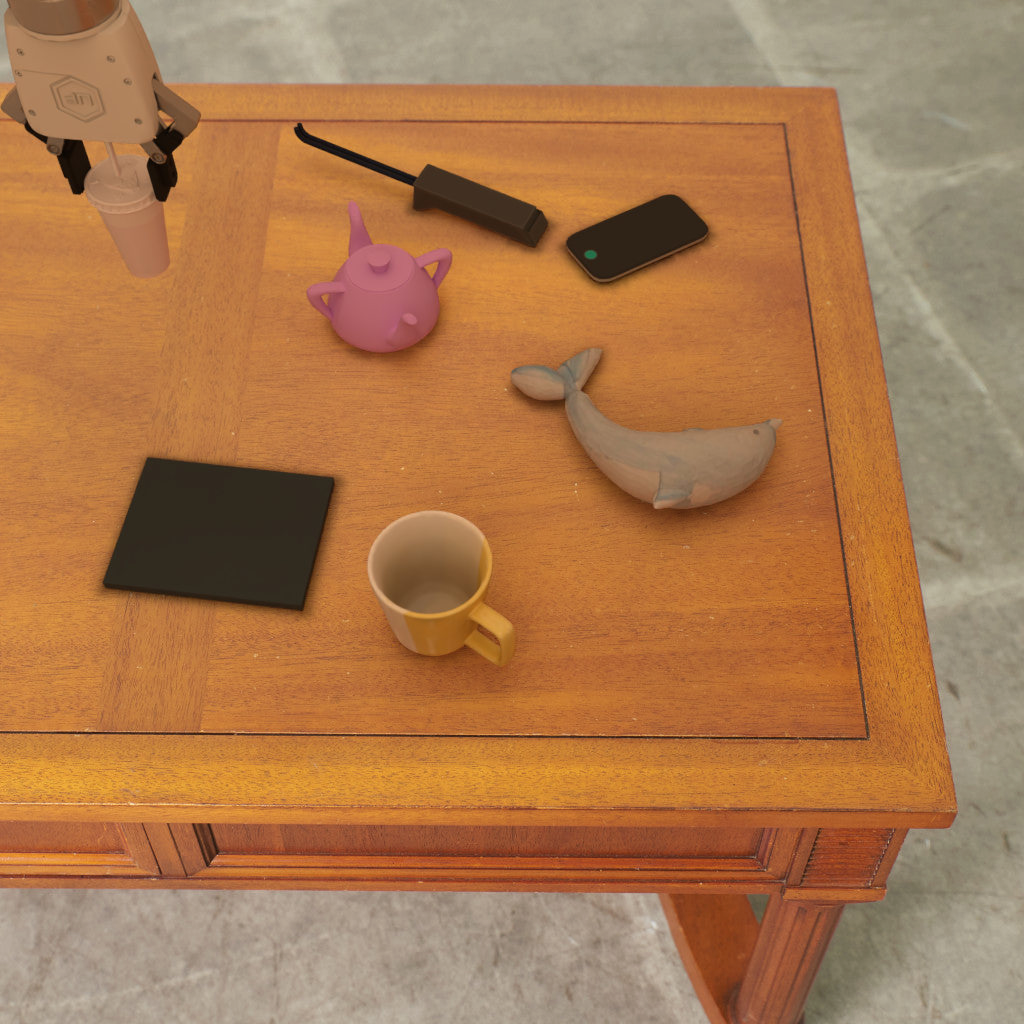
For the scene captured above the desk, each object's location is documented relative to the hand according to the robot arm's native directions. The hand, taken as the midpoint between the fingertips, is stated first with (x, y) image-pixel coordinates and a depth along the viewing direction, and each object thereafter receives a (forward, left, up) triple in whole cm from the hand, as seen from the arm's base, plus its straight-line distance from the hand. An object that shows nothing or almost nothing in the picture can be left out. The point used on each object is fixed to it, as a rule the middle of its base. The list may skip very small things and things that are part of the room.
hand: (124, 185), depth 106 cm
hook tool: (+19, +30, -26) cm, 44 cm away
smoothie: (0, 0, -9) cm, 9 cm away
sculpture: (+46, +1, -26) cm, 53 cm away
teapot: (+18, +11, -26) cm, 34 cm away
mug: (+30, -25, -26) cm, 47 cm away
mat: (+8, -17, -26) cm, 32 cm away
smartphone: (+43, +26, -26) cm, 57 cm away
